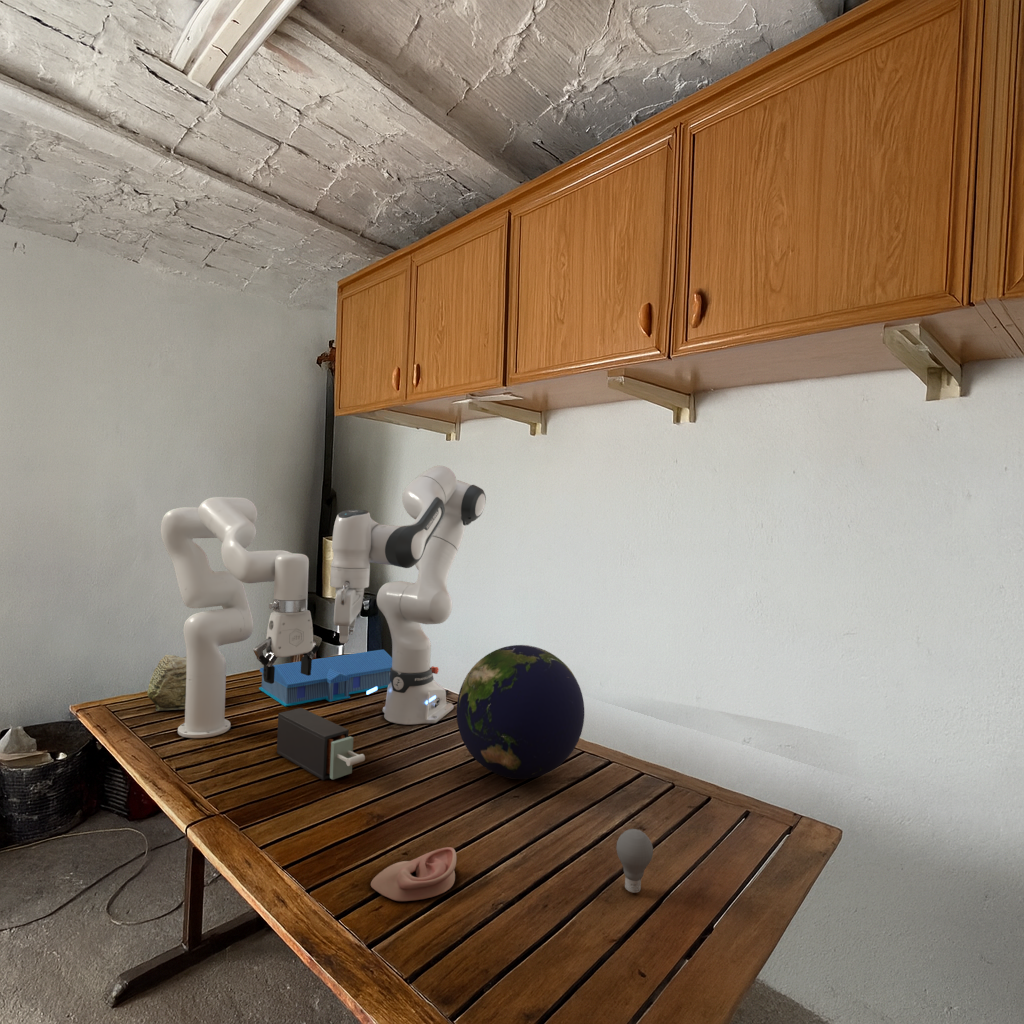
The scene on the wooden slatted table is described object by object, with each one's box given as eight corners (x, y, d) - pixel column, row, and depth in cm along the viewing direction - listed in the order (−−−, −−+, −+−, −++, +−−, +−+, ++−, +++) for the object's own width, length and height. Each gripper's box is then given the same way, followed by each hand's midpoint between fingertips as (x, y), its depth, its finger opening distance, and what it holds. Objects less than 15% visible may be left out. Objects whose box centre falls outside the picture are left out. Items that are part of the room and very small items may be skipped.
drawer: (366, 780, 140) (367, 744, 140) (346, 788, 136) (348, 750, 136) (306, 748, 157) (307, 715, 157) (287, 753, 153) (288, 720, 153)
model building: (289, 709, 186) (291, 675, 185) (258, 688, 204) (259, 657, 204) (403, 687, 212) (405, 657, 212) (366, 670, 230) (368, 643, 230)
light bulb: (610, 879, 108) (613, 822, 108) (644, 879, 109) (647, 822, 109) (619, 902, 102) (622, 840, 102) (655, 901, 103) (658, 840, 103)
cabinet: (347, 772, 146) (348, 729, 146) (323, 780, 141) (324, 736, 141) (299, 746, 160) (301, 707, 159) (276, 753, 155) (278, 713, 155)
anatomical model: (363, 870, 101) (391, 834, 112) (362, 895, 101) (390, 856, 113) (442, 884, 99) (463, 845, 110) (441, 909, 99) (462, 868, 110)
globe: (430, 785, 141) (436, 651, 140) (486, 740, 168) (491, 628, 168) (558, 816, 130) (565, 670, 129) (595, 762, 157) (601, 642, 157)
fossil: (144, 707, 182) (145, 655, 182) (212, 696, 194) (213, 647, 194) (151, 716, 175) (153, 662, 175) (221, 703, 188) (223, 653, 188)
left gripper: (265, 612, 140) (262, 689, 140) (331, 604, 154) (328, 674, 154) (247, 607, 145) (244, 682, 145) (312, 600, 158) (310, 668, 158)
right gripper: (358, 585, 138) (354, 648, 138) (368, 574, 158) (365, 630, 158) (328, 584, 137) (325, 647, 137) (342, 573, 157) (339, 629, 157)
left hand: (287, 678), depth 149 cm, fingers open, 9 cm apart
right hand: (346, 638), depth 148 cm, fingers open, 8 cm apart
